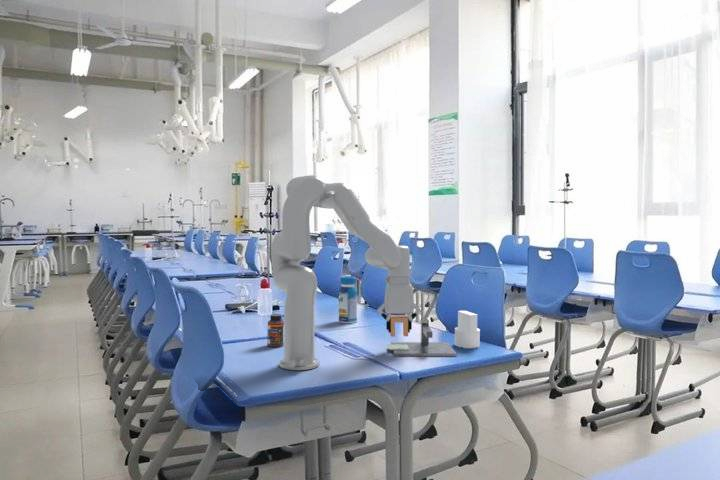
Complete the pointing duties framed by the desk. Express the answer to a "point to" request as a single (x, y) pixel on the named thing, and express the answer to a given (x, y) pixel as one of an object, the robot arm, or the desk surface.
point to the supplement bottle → (275, 331)
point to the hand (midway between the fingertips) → (399, 331)
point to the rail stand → (422, 345)
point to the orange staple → (399, 319)
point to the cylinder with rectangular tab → (467, 330)
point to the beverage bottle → (348, 300)
